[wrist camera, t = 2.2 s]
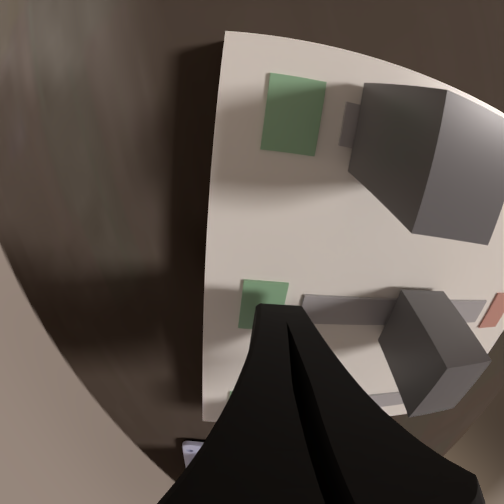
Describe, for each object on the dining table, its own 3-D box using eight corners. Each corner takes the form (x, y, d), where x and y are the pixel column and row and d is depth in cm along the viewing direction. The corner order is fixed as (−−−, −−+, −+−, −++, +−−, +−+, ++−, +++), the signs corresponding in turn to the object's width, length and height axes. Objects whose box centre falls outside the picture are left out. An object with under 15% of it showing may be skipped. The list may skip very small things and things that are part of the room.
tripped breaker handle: (418, 338, 11) (453, 407, 8) (377, 339, 11) (408, 417, 8) (443, 291, 10) (491, 360, 7) (401, 289, 10) (447, 368, 7)
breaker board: (438, 388, 17) (466, 453, 12) (204, 397, 15) (198, 489, 11) (552, 151, 9) (632, 197, 4) (228, 39, 7) (209, -18, 3)
